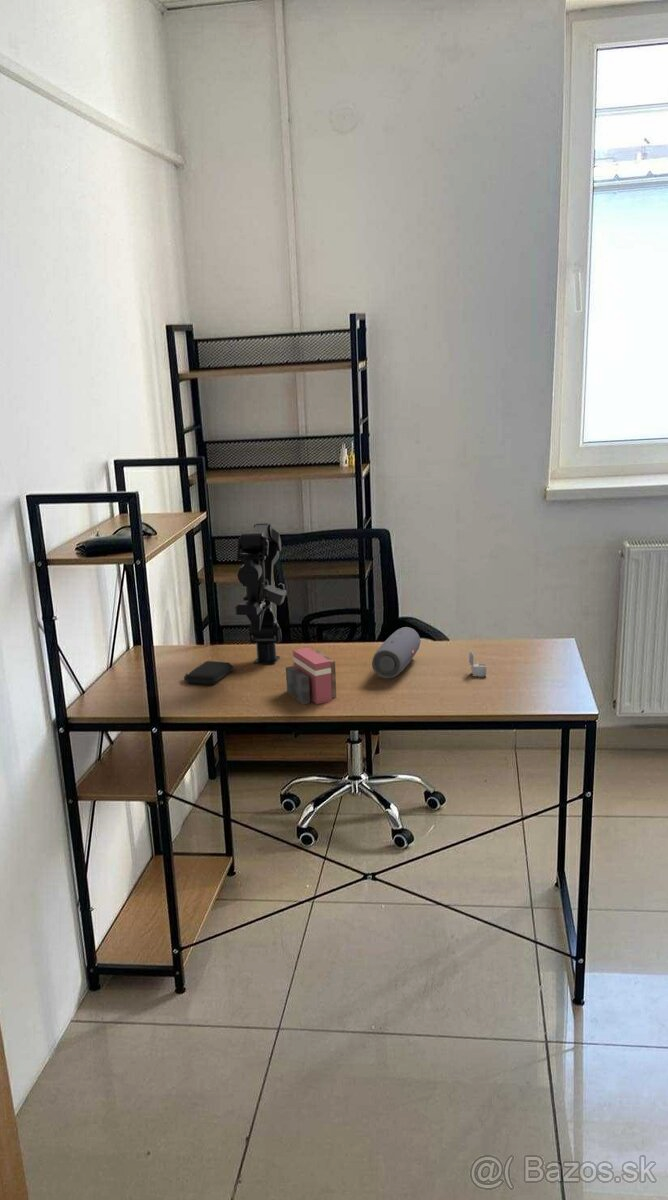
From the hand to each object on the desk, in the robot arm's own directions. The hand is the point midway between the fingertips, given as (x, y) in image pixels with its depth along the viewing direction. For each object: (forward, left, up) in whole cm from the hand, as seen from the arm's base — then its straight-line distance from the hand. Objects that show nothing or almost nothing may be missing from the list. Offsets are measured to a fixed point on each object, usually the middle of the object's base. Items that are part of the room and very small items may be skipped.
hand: (258, 631), depth 255 cm
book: (+13, +19, -13) cm, 27 cm away
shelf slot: (+13, +19, -13) cm, 26 cm away
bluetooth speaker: (-10, +38, -13) cm, 42 cm away
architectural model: (-14, +63, -14) cm, 66 cm away
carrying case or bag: (+4, -15, -14) cm, 20 cm away
